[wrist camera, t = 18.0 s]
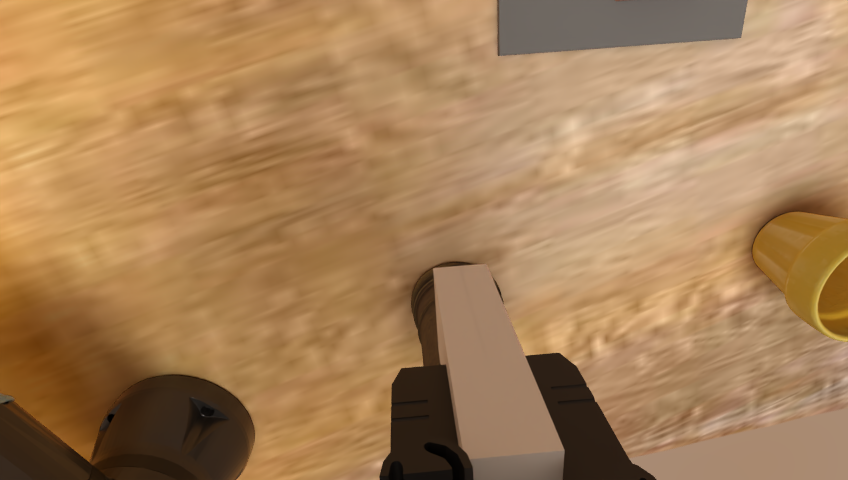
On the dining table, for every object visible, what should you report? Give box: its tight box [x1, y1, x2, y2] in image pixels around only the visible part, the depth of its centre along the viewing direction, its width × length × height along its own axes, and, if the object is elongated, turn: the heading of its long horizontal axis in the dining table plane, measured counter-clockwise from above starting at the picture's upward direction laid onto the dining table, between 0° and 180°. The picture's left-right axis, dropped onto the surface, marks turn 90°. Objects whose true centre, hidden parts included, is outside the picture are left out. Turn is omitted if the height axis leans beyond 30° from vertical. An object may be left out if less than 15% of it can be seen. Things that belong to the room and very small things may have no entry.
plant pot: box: [752, 212, 848, 342], centre depth 42 cm, size 10×10×10 cm
